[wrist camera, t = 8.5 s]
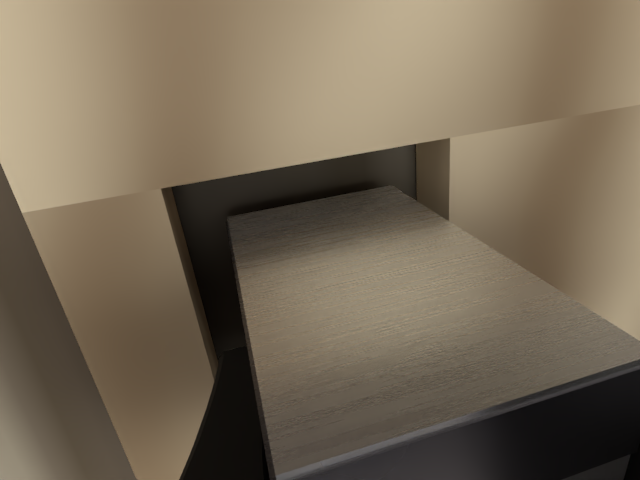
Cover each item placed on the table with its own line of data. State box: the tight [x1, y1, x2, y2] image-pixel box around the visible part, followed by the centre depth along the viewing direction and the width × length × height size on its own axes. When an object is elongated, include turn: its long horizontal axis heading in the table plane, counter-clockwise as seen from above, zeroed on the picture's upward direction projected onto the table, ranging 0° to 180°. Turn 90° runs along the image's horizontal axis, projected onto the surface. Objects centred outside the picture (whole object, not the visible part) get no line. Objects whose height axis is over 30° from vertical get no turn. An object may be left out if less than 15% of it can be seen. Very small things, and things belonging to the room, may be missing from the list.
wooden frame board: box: [0, 0, 640, 480], centre depth 11 cm, size 22×14×2 cm, turn 96°
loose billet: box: [226, 185, 640, 480], centre depth 7 cm, size 4×6×6 cm, turn 6°
